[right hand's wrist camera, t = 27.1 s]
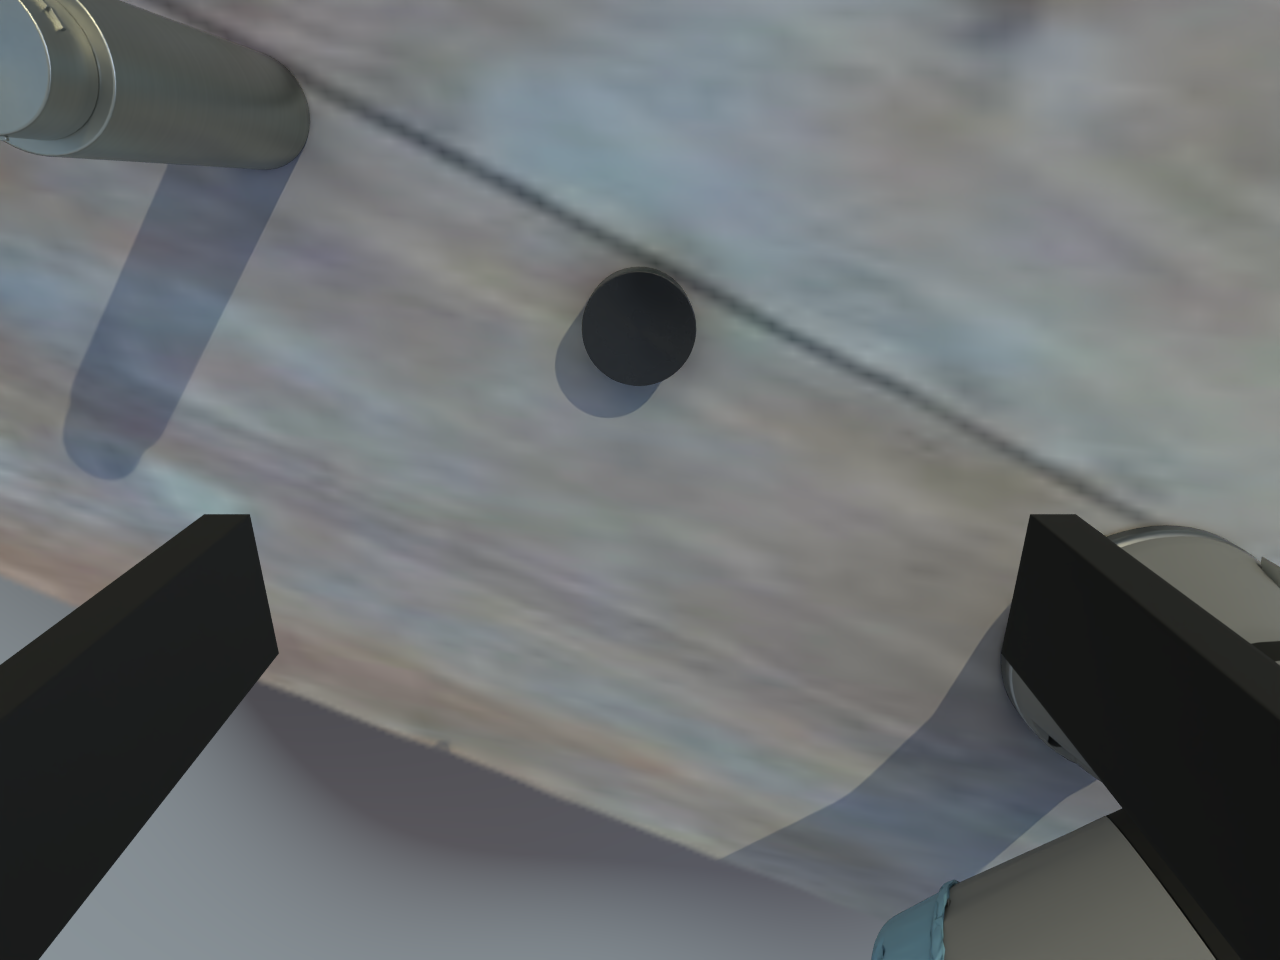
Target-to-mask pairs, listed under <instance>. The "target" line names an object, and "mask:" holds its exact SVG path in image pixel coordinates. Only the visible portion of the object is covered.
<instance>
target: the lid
mask: <svg viewBox="0 0 1280 960" xmlns="http://www.w3.org/2000/svg"><path fill="white" fill-rule="evenodd" d="M582 335H583V341H584V345H585V348H586V351H587V353H588V355H589V357H590V359H591V360H592V361H593V363H594V364H595V365H596V366H597V368H598V369H599V370H600V371H602V372H603V373H604V374H605V375H607V376H608V377H610V378H611V379H613V380H615V381H618V382H620V383H623V384H628V385H635V386H643V385H651V384H655V383H658V382H661V381H663V380H665V379H667V378H668V377H670V376H671V375H673V374H674V373H675V372H677V371H678V370H679V369H680V368H681V367H682V365H683V364H684V363H685V362H686V360H687V359H688V357H689V355H690V353H691V351H692V348H693V345H694V341H695V337H696V320H695V315H694V312H693V308H692V306H691V304H690V302H689V299H688V297H687V295H686V293H685V292H684V290H683V289H682V288H681V286H680V285H679V284H678V283H677V282H676V281H675V280H674V279H673V278H671V277H670V276H668V275H667V274H665V273H663V272H661V271H658V270H656V269H652V268H647V267H631V268H626V269H623V270H620V271H617V272H615V273H613V274H611V275H610V276H608V277H607V278H606V279H604V280H603V281H602V282H601V283H600V284H599V285H598V287H597V288H596V289H595V291H594V292H593V294H592V295H591V297H590V300H589V302H588V304H587V306H586V308H585V312H584V315H583V321H582Z"/></svg>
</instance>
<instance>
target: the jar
mask: <svg viewBox="0 0 1280 960" xmlns="http://www.w3.org/2000/svg"><path fill="white" fill-rule="evenodd" d="M309 124H310V119H309V109H308V105H307V101H306V98H305V95H304V93H303V91H302V89H301V87H300V85H299V83H298V82H297V80H296V79H295V77H294V76H293V75H292V74H291V73H290V71H289V70H288V69H287V68H286V67H284V66H283V65H282V64H281V63H279V62H278V61H277V60H275V59H273V58H272V57H270V56H268V55H265V54H263V53H260V52H258V51H255V50H252V49H250V48H247V47H244V46H241V45H239V44H236V43H233V42H231V41H228V40H225V39H223V38H220V37H217V36H214V35H212V34H209V33H206V32H204V31H201V30H198V29H195V28H193V27H190V26H187V25H185V24H182V23H179V22H176V21H174V20H171V19H168V18H166V17H163V16H160V15H158V14H155V13H152V12H149V11H147V10H144V9H141V8H139V7H136V6H133V5H130V4H128V3H125V2H122V1H120V0H0V141H4V142H6V143H8V144H10V145H12V146H13V147H15V148H18V149H20V150H23V151H25V152H28V153H32V154H36V155H42V156H49V157H66V158H82V159H98V160H115V161H131V162H147V163H164V164H180V165H196V166H213V167H229V168H245V169H262V170H265V169H275V168H279V167H282V166H284V165H286V164H288V163H289V162H291V161H292V160H293V159H294V158H295V157H296V156H297V155H298V154H299V153H300V151H301V150H302V148H303V146H304V145H305V142H306V140H307V137H308V132H309Z"/></svg>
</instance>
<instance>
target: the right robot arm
mask: <svg viewBox="0 0 1280 960" xmlns="http://www.w3.org/2000/svg"><path fill="white" fill-rule="evenodd" d="M278 654H279V652H278V647H277V643H276V638H275V633H274V628H273V623H272V619H271V614H270V609H269V604H268V599H267V595H266V590H265V585H264V580H263V575H262V571H261V566H260V561H259V556H258V551H257V547H256V542H255V537H254V532H253V527H252V523H251V518H250V514H204V515H203V516H201V517H200V518H199V519H197V520H196V521H195V522H193V523H192V524H191V525H189V526H188V527H187V528H185V529H184V530H182V531H181V532H180V533H178V534H177V535H176V536H174V537H173V538H172V539H170V540H169V541H168V542H166V543H165V544H164V545H162V546H161V547H159V548H158V549H157V550H155V551H154V552H153V553H151V554H150V555H149V556H147V557H146V558H145V559H143V560H142V561H141V562H139V563H138V564H136V565H135V566H134V567H132V568H131V569H130V570H128V571H127V572H126V573H124V574H123V575H122V576H120V577H119V578H117V579H116V580H115V581H113V582H112V583H111V584H109V585H108V586H107V587H105V588H104V589H103V590H101V591H100V592H99V593H97V594H96V595H94V596H93V597H92V598H90V599H89V600H88V601H86V602H85V603H84V604H82V605H81V606H80V607H78V608H77V609H76V610H74V611H73V612H71V613H70V614H69V615H67V616H66V617H65V618H63V619H62V620H61V621H59V622H58V623H57V624H55V625H54V626H53V627H51V628H50V629H48V630H47V631H46V632H44V633H43V634H42V635H40V636H39V637H38V638H36V639H35V640H34V641H32V642H31V643H30V644H28V645H27V646H25V647H24V648H23V649H21V650H20V651H19V652H17V653H16V654H15V655H13V656H12V657H11V658H9V659H8V660H6V661H5V662H4V663H2V664H1V665H0V960H39V958H40V957H41V956H42V955H43V953H44V952H45V951H46V950H47V948H48V947H49V946H50V944H51V943H52V942H53V941H54V939H55V938H56V937H57V935H58V934H59V933H60V932H61V930H62V929H63V928H64V927H65V925H66V924H67V923H68V921H69V920H70V919H71V918H72V916H73V915H74V914H75V913H76V911H77V910H78V909H79V907H80V906H81V905H82V904H83V902H84V901H85V900H86V899H87V897H88V896H89V895H90V893H91V892H92V891H93V890H94V888H95V887H96V886H97V884H98V883H99V882H100V881H101V879H102V878H103V877H104V876H105V874H106V873H107V872H108V870H109V869H110V868H111V867H112V865H113V864H114V863H115V862H116V860H117V859H118V858H119V856H120V855H121V854H122V853H123V851H124V850H125V849H126V848H127V846H128V845H129V844H130V842H131V841H132V840H133V839H134V837H135V836H136V835H137V833H138V832H139V831H140V830H141V828H142V827H143V826H144V825H145V823H146V822H147V821H148V819H149V818H150V817H151V816H152V814H153V813H154V812H155V811H156V809H157V808H158V807H159V805H160V804H161V803H162V802H163V800H164V799H165V798H166V796H167V795H168V794H169V793H170V791H171V790H172V789H173V788H174V786H175V785H176V784H177V782H178V781H179V780H180V779H181V777H182V776H183V775H184V773H185V772H186V771H187V770H188V768H189V767H190V766H191V765H192V763H193V762H194V761H195V760H196V758H197V757H198V756H199V754H200V753H201V752H202V751H203V749H204V748H205V747H206V745H207V744H208V743H209V742H210V740H211V739H212V738H213V737H214V735H215V734H216V733H217V731H218V730H219V729H220V728H221V726H222V725H223V724H224V723H225V721H226V720H227V719H228V717H229V716H230V715H231V714H232V712H233V711H234V710H235V709H236V707H237V706H238V705H239V703H240V702H241V701H242V699H243V698H244V697H245V696H246V694H247V693H248V692H249V691H250V689H251V688H252V687H253V686H254V684H255V683H256V682H257V680H258V679H259V678H260V677H261V675H262V674H263V673H264V672H265V670H266V669H267V668H268V666H269V665H270V664H271V663H272V661H273V660H274V659H275V658H276V656H277V655H278ZM1001 654H1002V658H1001V668H1002V677H1003V681H1004V686H1005V689H1006V691H1007V694H1008V696H1009V698H1010V700H1011V702H1012V704H1013V706H1014V707H1015V708H1016V710H1017V711H1018V713H1019V714H1020V715H1021V717H1022V718H1023V720H1024V721H1025V722H1026V724H1027V725H1028V726H1029V727H1030V728H1031V730H1032V731H1033V732H1034V733H1035V734H1036V735H1037V736H1038V737H1039V738H1040V739H1041V740H1043V741H1044V742H1045V743H1046V744H1047V745H1048V746H1049V747H1050V748H1052V749H1053V750H1054V751H1056V752H1057V753H1059V754H1060V755H1062V756H1063V757H1065V758H1066V759H1068V760H1070V761H1072V762H1074V763H1076V764H1078V765H1079V766H1080V767H1081V768H1083V769H1084V770H1085V771H1087V772H1088V773H1089V774H1091V775H1092V776H1094V777H1095V778H1097V779H1098V780H1100V781H1101V782H1103V784H1104V785H1105V786H1106V788H1107V789H1108V790H1109V791H1110V793H1111V794H1112V795H1113V797H1114V798H1115V799H1116V800H1117V802H1118V803H1119V804H1120V805H1121V807H1122V809H1120V810H1118V811H1116V812H1114V813H1112V814H1109V815H1106V816H1104V817H1102V818H1100V819H1097V820H1095V821H1093V822H1091V823H1089V824H1087V825H1085V826H1083V827H1081V828H1079V829H1077V830H1075V831H1073V832H1070V833H1068V834H1066V835H1064V836H1062V837H1059V838H1057V839H1055V840H1053V841H1051V842H1048V843H1046V844H1044V845H1042V846H1040V847H1037V848H1035V849H1033V850H1031V851H1028V852H1026V853H1024V854H1022V855H1020V856H1017V857H1015V858H1013V859H1011V860H1009V861H1006V862H1004V863H1002V864H1000V865H997V866H995V867H993V868H991V869H989V870H986V871H984V872H982V873H980V874H977V875H975V876H973V877H971V878H969V879H966V880H964V881H962V882H958V881H956V880H952V881H949V882H947V883H945V884H944V885H943V886H942V887H941V888H940V891H939V893H937V894H935V895H933V896H931V897H929V898H927V899H926V900H924V901H922V902H920V903H918V904H916V905H914V906H913V907H911V908H909V909H907V910H905V911H903V912H901V913H899V914H897V915H896V916H894V917H893V918H891V919H890V920H889V921H888V922H887V923H886V924H885V925H884V926H883V927H882V929H881V930H880V932H879V934H878V936H877V939H876V941H875V944H874V948H873V953H872V959H871V960H1280V567H1279V566H1277V565H1276V564H1274V563H1272V562H1270V561H1269V560H1267V559H1265V558H1264V557H1262V560H1261V562H1260V561H1259V560H1257V559H1256V558H1255V557H1254V556H1252V555H1251V554H1249V553H1248V552H1246V551H1244V550H1243V549H1241V548H1240V547H1238V546H1236V545H1234V544H1233V543H1231V542H1229V541H1228V540H1226V539H1224V538H1222V537H1220V536H1218V535H1215V534H1212V533H1210V532H1207V531H1204V530H1199V529H1195V528H1190V527H1182V526H1150V527H1143V528H1136V529H1132V530H1128V531H1123V532H1120V533H1117V534H1114V535H1110V536H1108V537H1106V536H1104V535H1103V534H1102V533H1100V532H1099V531H1098V530H1096V529H1095V528H1093V527H1092V526H1091V525H1089V524H1088V523H1087V522H1085V521H1084V520H1083V519H1081V518H1080V517H1079V516H1077V515H1076V514H1030V518H1029V523H1028V527H1027V532H1026V537H1025V542H1024V547H1023V551H1022V556H1021V561H1020V566H1019V571H1018V575H1017V580H1016V585H1015V590H1014V595H1013V599H1012V604H1011V609H1010V614H1009V619H1008V623H1007V628H1006V633H1005V638H1004V643H1003V647H1002V652H1001Z"/></svg>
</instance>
